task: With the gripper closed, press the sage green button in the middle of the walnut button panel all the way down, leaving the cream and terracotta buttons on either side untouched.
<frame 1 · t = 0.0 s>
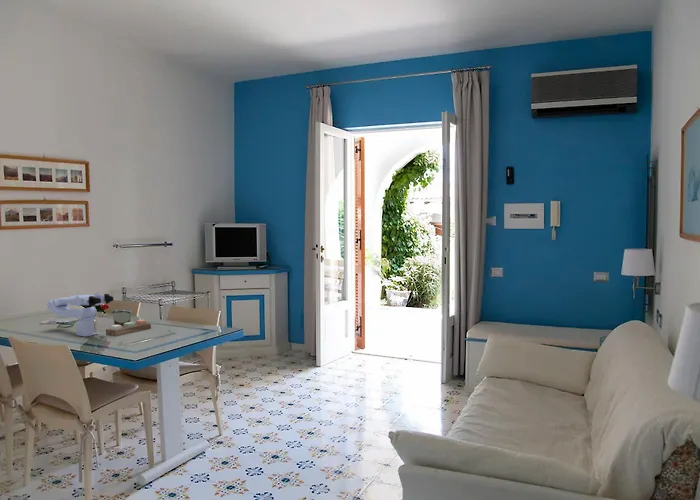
hand: (106, 299, 314), 22 cm above the table, tool horizontal, fingers open, 7 cm apart
food container: (124, 325, 352), on the table
sage button: (128, 325, 334), point 3 cm above the table, slide at 0.0 cm
terracotta button: (141, 323, 341), point 3 cm above the table, slide at 0.0 cm
cream button: (116, 328, 327), point 3 cm above the table, slide at 0.0 cm
button panel: (129, 331, 334), on the table
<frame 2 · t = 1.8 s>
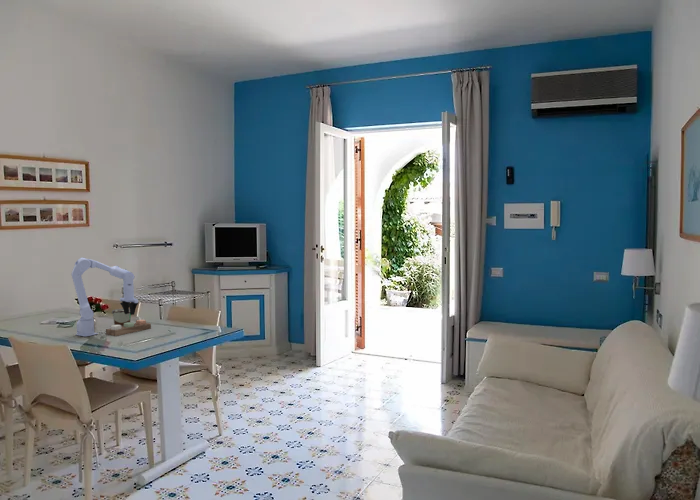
hand: (129, 314, 337), 9 cm above the table, tool pointing down, fingers open, 5 cm apart
nothing on the table moved.
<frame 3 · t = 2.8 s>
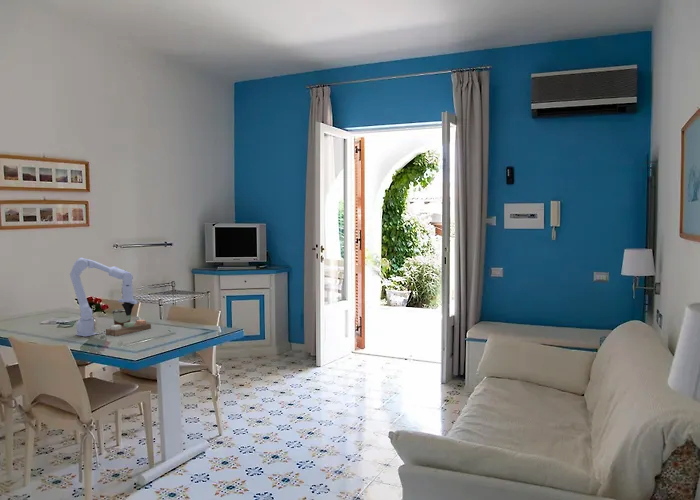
hand: (128, 315, 334), 9 cm above the table, tool pointing down, fingers closed
nothing on the table moved.
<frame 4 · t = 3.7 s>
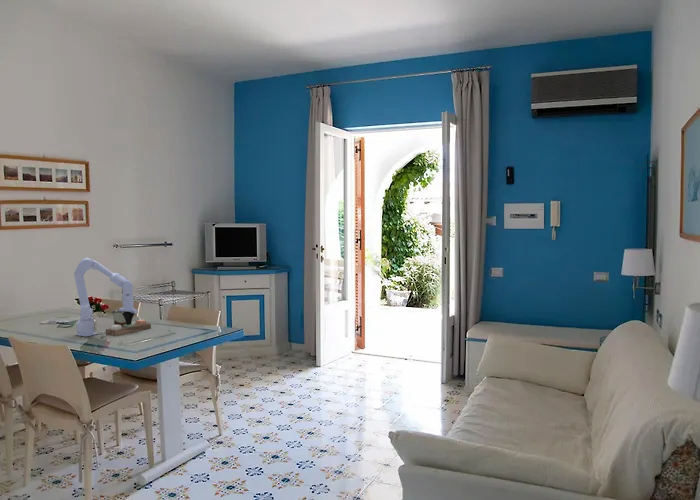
hand: (128, 324, 334), 4 cm above the table, tool pointing down, fingers closed, pressing on sage button
sage button: (128, 327, 334), point 2 cm above the table, slide at 0.9 cm, touching gripper
everything else where it was.
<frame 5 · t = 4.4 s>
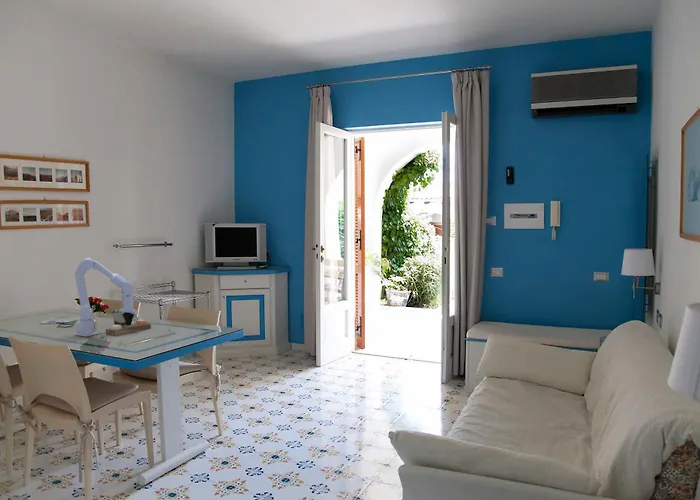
hand: (128, 325, 334), 4 cm above the table, tool pointing down, fingers closed, pressing on sage button
sage button: (128, 328, 334), point 2 cm above the table, slide at 1.4 cm, touching gripper
everything else where it was.
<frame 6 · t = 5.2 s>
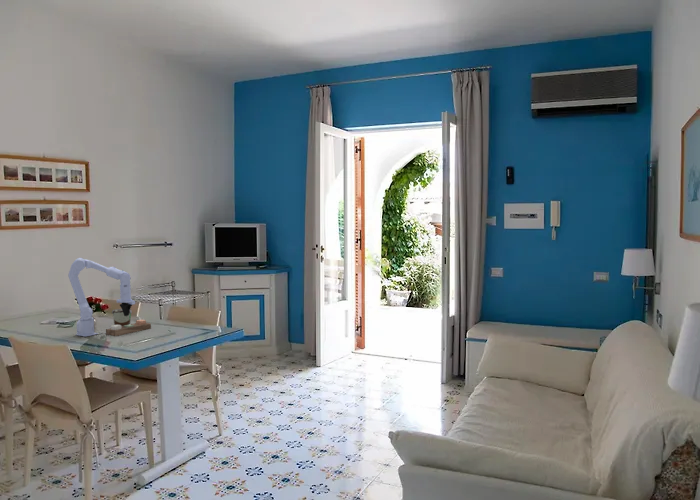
hand: (126, 315, 333), 9 cm above the table, tool pointing down, fingers closed
sage button: (128, 328, 334), point 2 cm above the table, slide at 1.4 cm
everything else where it was.
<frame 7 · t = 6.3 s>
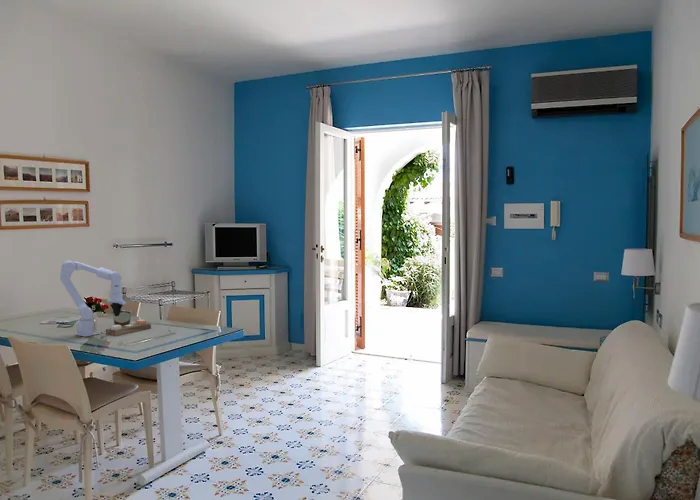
hand: (117, 315, 333), 9 cm above the table, tool pointing down, fingers closed
nothing on the table moved.
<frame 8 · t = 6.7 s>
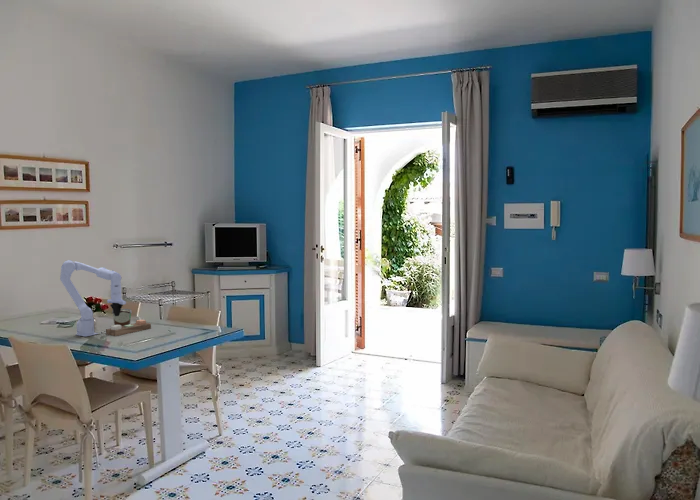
hand: (117, 315, 333), 9 cm above the table, tool pointing down, fingers closed
nothing on the table moved.
at the end: sage button slide at 1.4 cm; cream button slide at 0.0 cm; terracotta button slide at 0.0 cm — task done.
